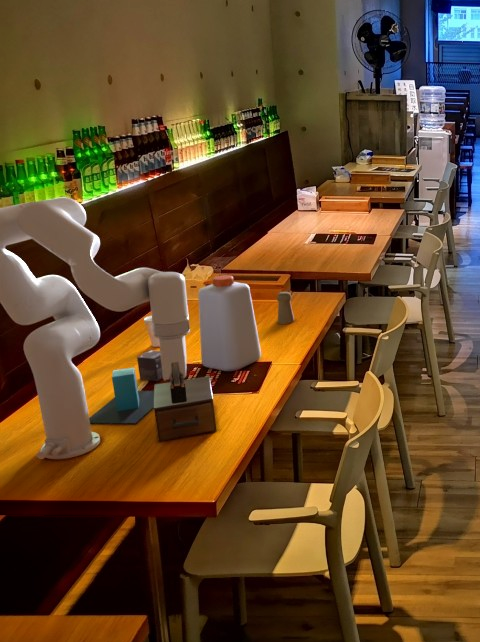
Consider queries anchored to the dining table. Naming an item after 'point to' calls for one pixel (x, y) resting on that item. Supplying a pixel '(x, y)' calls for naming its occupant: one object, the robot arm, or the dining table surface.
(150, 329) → the smoothie
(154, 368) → the box
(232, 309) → the plastic bottle
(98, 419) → the mat
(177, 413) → the drawer
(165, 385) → the cabinet
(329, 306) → the dining table surface
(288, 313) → the pepper shaker
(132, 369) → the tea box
